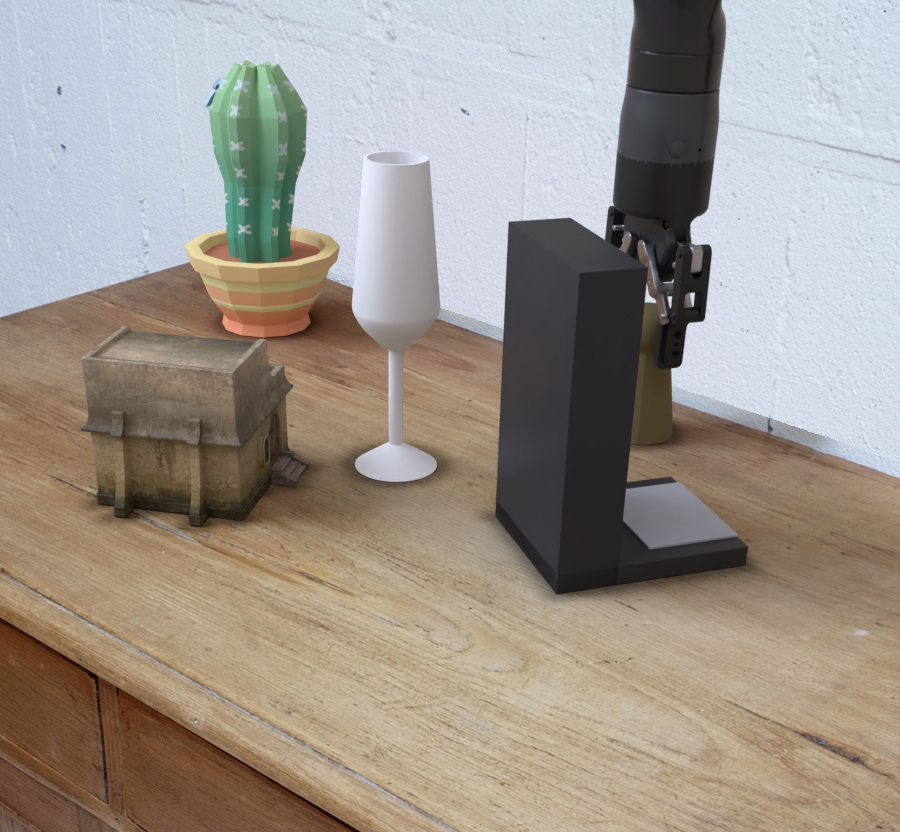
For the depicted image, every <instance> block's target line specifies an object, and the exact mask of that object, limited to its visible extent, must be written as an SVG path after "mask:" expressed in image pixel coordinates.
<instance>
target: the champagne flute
mask: <svg viewBox="0 0 900 832" xmlns="http://www.w3.org/2000/svg"><path fill="white" fill-rule="evenodd" d="M430 161H431V160H430V157H429V155H427V154H424V153H420V152H415V151H409V150H408V151H406V150H383V151H374V152H369V153H367V154H365V155H363V159H362V168H361V169H362V172H361V184H360V197H359V208H358V222H357V233H356V248H355V262H354V272H353V275H354V276H353V287H352V300H351V309H352V314H353V316H354V317H355V319H356V321H357V323H358V324H359V326H360V327H361V329H362V330H363V331H364V332H365V333H367V335H368V336H370V338H371V339H373V341H375V342H376V343H377V344H378V345H379V346H380V347H382V348H384V349H387V351H388V441H386V442H385V443H383V444H381V445H378V446H377V447H375V448H372V449H370V450H368V451H367V452H365V453H363V454H361V455H359V456H358V457H357V458H356V459H355V461H354V467H355V469H356V471H357V472H358V473H359V474H361V475H362V476H365V477H367V478H369V479H372V480H375V481H381V482H389V483H401V482H404V483H405V482H411V481H417V480H421V479H424V478H426V477H428V476H430V475H432V474H433V473H434V472H435V471H436V469H437V467H438V463H437V460H436V459H435V458H434V457H433V456H432V455H431V454H429V453H427V452H426V451H423V450H421V449H419V448H417V447H416V446H413V445H411V444H409V443H407V442H406V441H404V390H405V389H404V387H405V386H404V384H405V383H404V380H405V379H404V375H405V371H404V369H405V367H404V366H405V365H404V364H405V361H404V360H405V358H404V355H405V353H404V352H405V350H406V349H407V350H408V349H409V348H410V347H412V346H413V345H414V344H416V343H417V342H418V341H419V340H420V339H421V338H422V337H424V335H425V334H427V333H428V332H429V331H430V329H431V328H432V326H433V325H434V324H435V323H436V321H437V319H438V317H439V316H440V312H441V298H440V283H439V270H438V257H437V244H436V232H435V230H436V229H435V218H434V217H435V216H434V204H433V203H434V202H433V190H432V175H431V162H430Z"/></svg>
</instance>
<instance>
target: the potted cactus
mask: <svg viewBox="0 0 900 832" xmlns="http://www.w3.org/2000/svg"><path fill="white" fill-rule="evenodd" d="M211 87H212V90H211V91H209V93H208V94H207V96H206V98H205V100H204V101H203V103H202V106H203V107H205V108H206V110H208V115H209V123H210V132H211V139H212V140H211V141H212V149H213V154H214V157H215V161H216V163H217V165H218V168H219V171H220V174H221V177H222V180H223V189H224V190H223V191H224V207H225V208H224V209H225V227H226V228H224V229H219V230H215V231H211V232H207V233H203V234H199V235H197V236H196V237H194V238H193V239H192V240H190V241H189V242H188V243H186V244H185V245H184V248H185V252H186V254H187V255H186V256H187V258H188V261H189V263H190V264H191V266H192V268H193V270H194V271H195V272H196V273H199V275H200V277H201V280H202V282H203V284H204V286H205V288H206V291H207V293H208V295H209V298H211V300H212V302H213V303H214V304H215V305H216V306H217V308H218V309H219V311H221V313H222V314H223V315H222V322H221V324H222V325H223V327H224V328H225V331H228V332H230V333H234V334H237V335H239V336H244V337H254V338H271V337H272V338H273V337H283V336H285V337H286V336H289V335H292V334H295V333H299V332H303V331H304V330H306V328H307V327H308V326H309V325H311V319H310V316H309V312H310V310H311V309H312V307H313V305H314V304H315V303H316V301H317V300H318V298H319V297H320V295H321V294H322V292H323V289H324V288H325V284H326V280H327V277H328V274H329V272H330V269H331V268H332V267H333V266H334V265H335V264H336V263H337V262H338V259H339V254H340V249H341V245H339V243H338V242H337V241H336V240H335V239H334V238H333V237H332V235H329V234H325V233H322V232H318V231H315V230H311V229H307V228H304V227H292V225H293V214H294V205H295V196H296V195H295V194H296V185H297V181H298V178H299V175H300V173H301V169H302V166H303V163H304V161H305V158H306V155H307V126H308V125H307V124H308V123H307V122H308V119H307V118H308V108H307V107H306V105H305V104H304V102H303V99H302V98H301V95H300V94H299V93H298V91H297V90H296V88H295V87H294V85H293V83H292V82H291V81H290V79H289V77H288V76H287V75H286V73H285V72H284V71H283V69H282V67H281V66H280V64H279V63H275V64H273V65H272V63H271V62H270V61H269V60H265V61H263V62H261V63H259V64H257V65H256V64H255V63H253V62H251V61H249V60H243V62H242V64H239V63H237V62H233V64H232V66H231V67H230V68H229V71H228V72H227V73H226V75H223V77H220V78H219V77H218V78H217V79H216V80H215V81H214V83H213V84H212V85H211Z"/></svg>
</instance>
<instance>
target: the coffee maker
mask: <svg viewBox="0 0 900 832" xmlns="http://www.w3.org/2000/svg"><path fill="white" fill-rule="evenodd" d="M507 223H508V224H507V226H508V227H507V243H506V244H507V246H506V264H505V265H506V267H505V268H506V269H505V287H504V288H505V289H504V313H503V314H504V315H503V335H502V336H503V337H502V357H501V379H500V401H499V426H498V443H497V445H498V447H497V471H496V492H495V493H496V494H495V512H494V516H495V519H496V520H497V521H498V522H499V524H501V526H502V527H503V529H504V530H505V531H506V532H507V534H508V535H509V536H510V537H511V539H512V540H513V541H514V542H515V543H516V545H517V546H518V547H519V549H520V550H521V551H522V552H523V554H524V555H525V557H527V559H528V560H529V562H530V563H531V564H532V565H533V566H534V568H535V569H536V570H537V571H538V573H539V574H540V576H541V577H542V578H543V579H544V580H545V582H546V583H547V584H548V586H549V587H550V588H551V589H552V591H553V592H554V593H555V594H557V595H559V594H564V593H571V592H578V591H583V590H592V589H597V588H603V587H611V586H616V585H622V584H624V585H625V584H630V583H637V582H642V581H643V582H644V581H649V580H655V579H656V580H657V579H661V578H668V577H669V578H670V577H675V576H681V575H689V574H696V573H704V572H708V571H716V570H722V569H727V568H734V567H740V566H746V565H747V558H748V552H749V551H748V550H749V546H748V545H747V544H746V543H745V542H744V541H743V540H742V539H740V537H739V534H738V533H737V532H736V531H735V530H734V529H733V528H732V527H731V526H730V525H728V524H727V522H725V521H724V520H723V519H722V518H721V517H720V516H719V515H717V514H716V513H715V511H713V510H712V509H710V507H709V506H707V504H705V503H704V502H703V500H701V499H700V498H698V497H697V495H695V494H694V493H693V492H692V491H691V490H690V489H689V488H688V487H687V486H686V485H684V484H683V483H682V482H681V481H677V480H676V479H674V477H672V476H664V477H655V478H649V479H640V480H634V481H633V480H632V481H628V474H629V463H630V453H631V445H632V444H631V435H632V425H633V415H634V405H635V395H636V385H637V375H638V365H639V355H640V345H641V335H642V325H643V315H644V305H645V302H646V294H647V275H648V267H646V266H645V265H643V264H642V263H640V262H639V261H637V260H635V259H634V258H632V257H631V256H629V255H628V254H626V253H625V252H623V251H621V250H620V249H618V248H617V247H615V246H614V245H612V244H611V243H609V242H607V241H606V240H605V238H603V237H601V236H600V235H598V234H597V233H595V232H594V231H592V230H590V229H589V228H587V227H586V226H584V225H583V224H581V223H579V222H578V221H576V220H575V219H574V218H571V217H560V218H559V217H558V218H543V219H529V220H527V219H526V220H513V221H508V222H507Z"/></svg>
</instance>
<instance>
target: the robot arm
mask: <svg viewBox="0 0 900 832" xmlns="http://www.w3.org/2000/svg"><path fill="white" fill-rule="evenodd" d="M632 5H633V6H632V7H633V20H632V27H631V33H630V40H629V41H630V42H629V49H628V60H627V71H626V84H625V91H624V97H623V101H622V105H621V110H620V116H619V125H618V135H617V136H618V137H617V147H616V148H617V149H616V156H615V169H614V181H613V192H612V204H613V205H609V206H608V209H607V216H606V225H605V226H606V227H605V234H604V240H606V241H607V242H609V243H611V244H612V245H614V246H615V247H617V248H618V249H620V250H621V251H623V252H625V253H626V254H628V255H629V256H631V257H632V258H634V259H635V260H637V261H639V262H640V263H642V264H643V265H645V266H646V267H648V275H647V285H646V288H647V291H648V292H647V293H648V295H649V297H650V298H652V299H654V300H655V303H656V304H657V310H658V315H659V320H660V322H659V323H658V330H657V339H656V348H655V357H654V364H655V365H656V366H657V367H658V368H660V369H671V370H672V369H678V368H680V367H681V366H682V364H683V360H684V352H685V344H686V336H687V328H688V325H689V324H694V323H703V322H704V321H705V319H706V314H707V305H708V294H709V286H710V285H709V284H710V276H711V268H712V267H711V265H712V259H713V258H712V257H713V249H712V246H711V245H710V244H709V243H705V244H694V243H692V231H691V229H692V228H691V224H692V223H693V221H694V220H695V219H697V218H698V217H701V216H702V215H705V213H707V211H708V209H709V205H710V200H711V199H710V197H711V190H712V181H713V174H714V165H715V157H716V150H717V143H718V133H719V127H720V126H719V125H720V95H721V93H720V92H721V82H722V74H723V67H724V58H725V51H726V39H727V18H726V14H725V12H724V9H723V0H632ZM691 294H694V296H693V301H692V298H691ZM670 297H671V304H670V302H669V298H670ZM692 302H693V304H692ZM670 308H671V309H670Z"/></svg>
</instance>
